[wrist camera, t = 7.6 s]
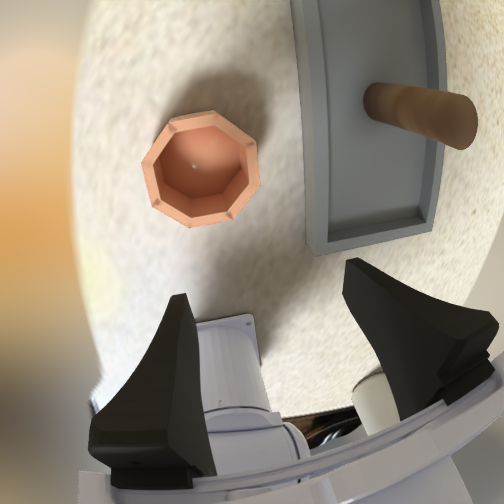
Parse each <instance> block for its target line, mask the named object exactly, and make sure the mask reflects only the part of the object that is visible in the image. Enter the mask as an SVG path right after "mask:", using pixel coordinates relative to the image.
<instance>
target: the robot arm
mask: <svg viewBox="0 0 504 504" xmlns="http://www.w3.org/2000/svg"><path fill="white" fill-rule="evenodd" d="M342 295H343V297H344V299H345V301H346V304H347V306H348V308H349V310H350V312H351V314H352V315H353V317H354V318H355V320H356V322H357V323H358V325H359V326H360V328H361V330H362V331H363V333H364V334H365V336H366V338H367V339H368V341H369V342H370V344H371V346H372V347H373V349H374V351H375V353H376V355H377V357H378V359H379V361H380V364H381V366H382V368H383V370H384V373H385V375H386V378H387V380H388V383H389V386H390V389H391V391H392V394H393V397H394V400H395V404H396V407H397V411H398V414H399V418H400V422H399V423H396V424H394V425H392V426H390V427H388V428H386V429H383V430H381V431H379V432H377V433H374V434H372V435H369V436H367V437H365V438H362V439H360V440H357V441H354V442H352V443H349V444H346V445H344V446H341V447H338V448H335V449H332V450H329V451H326V452H323V453H320V454H317V455H313V456H310V451H309V447H308V444H307V442H306V440H305V438H304V436H303V434H302V433H301V432H300V431H299V430H298V429H297V428H296V427H295V426H294V425H293V424H291V423H289V422H284V423H283V422H282V419H281V415H280V413H279V412H272V411H271V407H270V404H269V400H268V397H267V393H266V389H265V386H264V382H263V378H262V375H261V367H260V360H259V353H258V346H257V339H256V332H255V325H254V318H253V315H252V314H243V315H238V316H233V317H228V318H223V319H218V320H213V321H207V322H202V323H195V320H194V317H193V314H192V311H191V308H190V305H189V301H188V298H187V295H186V293H183V294H178V295H172V296H171V298H170V300H169V303H168V306H167V308H166V311H165V313H164V316H163V318H162V321H161V323H160V325H159V327H158V329H157V332H156V334H155V336H154V338H153V340H152V342H151V344H150V346H149V348H148V349H147V351H146V353H145V355H144V356H143V358H142V360H141V361H140V363H139V365H138V366H137V368H136V369H135V371H134V372H133V373H132V375H131V376H130V378H129V379H128V380H127V382H126V383H125V384H124V386H123V387H122V388H121V389H120V390H119V391H118V393H117V394H116V395H115V396H114V397H113V398H112V400H111V401H110V402H109V403H108V404H107V405H106V406H105V407H104V408H103V409H102V410H100V411H99V412H98V413H97V414H96V415H95V416H94V417H93V418H92V420H91V425H90V430H89V442H88V451H89V453H90V454H91V456H93V457H94V458H95V459H97V460H98V461H100V462H102V463H104V464H105V465H107V466H108V467H110V468H111V475H109V474H106V473H99V472H88V471H79V475H78V476H79V477H78V478H79V479H78V504H473V502H472V500H471V498H470V495H469V493H468V491H467V489H466V487H465V485H464V483H463V481H462V479H461V477H460V475H459V472H458V471H457V468H456V466H455V464H454V463H453V461H452V459H451V457H450V455H451V454H453V453H454V452H455V451H457V450H458V449H460V448H461V447H463V446H464V445H465V444H466V443H468V442H469V441H471V440H472V439H473V438H475V437H476V436H477V435H478V434H480V433H481V432H482V431H483V430H485V429H486V428H487V427H488V426H489V425H491V424H492V423H493V422H494V421H495V420H496V419H498V418H499V417H500V416H501V415H502V414H503V413H504V352H502V353H501V354H500V355H499V356H497V357H496V358H495V359H494V360H493V361H492V362H491V363H490V361H489V360H488V358H489V356H490V354H489V353H488V352H487V348H488V347H489V345H490V344H491V342H492V341H493V339H494V337H495V336H496V334H497V331H498V329H499V323H498V322H497V321H496V319H495V318H494V317H493V316H492V315H491V314H490V312H488V311H482V310H476V309H470V308H466V307H462V306H458V305H454V304H451V303H448V302H445V301H442V300H439V299H436V298H433V297H431V296H429V295H426V294H424V293H422V292H419V291H417V290H415V289H413V288H411V287H409V286H407V285H405V284H403V283H402V282H400V281H398V280H396V279H394V278H393V277H391V276H389V275H387V274H386V273H384V272H382V271H381V270H379V269H377V268H376V267H374V266H372V265H371V264H369V263H367V262H365V261H364V260H362V259H360V258H358V257H357V258H353V259H348V260H346V265H345V274H344V283H343V291H342ZM247 322H249V323H247ZM386 447H387V448H386ZM363 457H364V458H363ZM358 459H359V460H358ZM353 461H354V462H353ZM348 463H349V464H348ZM345 464H347V465H345ZM343 465H344V466H343ZM340 466H342V467H340ZM337 467H339V468H337ZM334 468H337V469H336V470H333V471H331V472H329V473H327V474H324V475H322V476H319V477H316V478H313V479H310V480H309V478H310V476H312V475H315V474H318V473H322V472H325V471H328V470H331V469H334Z"/></svg>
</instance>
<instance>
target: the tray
mask: <svg viewBox="0 0 504 504" xmlns="http://www.w3.org/2000/svg"><path fill="white" fill-rule="evenodd" d="M290 5H291V12H292V20H293V29H294V38H295V47H296V57H297V67H298V78H299V90H300V104H301V119H302V136H303V156H304V182H305V236H306V245H307V246H308V248H309V249H310V251H311V252H312V254H313V255H314V257H316V256H321V255H326V254H331V253H335V252H340V251H345V250H349V249H354V248H359V247H363V246H368V245H372V244H377V243H381V242H386V241H390V240H395V239H399V238H404V237H408V236H413V235H417V234H422V233H426V232H430V231H432V227H433V223H434V218H435V213H436V207H437V201H438V196H439V189H440V183H441V175H442V167H443V159H444V149H445V144H443V143H441V142H438V141H436V140H433V139H430V138H427V137H425V136H422V135H419V134H416V133H413V132H410V131H407V130H404V129H401V128H398V127H395V126H392V125H388V124H385V123H382V122H378V121H375V120H373V119H371V118H370V117H369V116H368V115H367V113H366V111H365V109H364V106H363V96H364V93H365V91H366V89H367V88H368V87H369V86H370V85H371V84H373V83H389V84H399V85H407V86H415V87H422V88H428V89H434V90H440V91H446V92H447V68H446V52H445V40H444V31H443V23H442V16H441V9H440V3H439V0H290Z"/></svg>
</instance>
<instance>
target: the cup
mask: <svg viewBox="0 0 504 504" xmlns="http://www.w3.org/2000/svg"><path fill="white" fill-rule="evenodd" d="M141 165H142V169H143V173H144V178H145V182H146V186H147V190H148V194H149V198H150V202H151V205H152V207H154V208H156V209H157V210H159V211H161V212H162V213H164V214H166V215H167V216H169V217H171V218H173V219H174V220H176V221H178V222H179V223H181V224H183V225H185V226H186V227H188V228H193V227H198V226H203V225H208V224H214V223H219V222H224V221H230V220H233V219H234V218H235V216H236V215H237V214H238V213H239V212H240V210H241V209H242V208H243V207H244V205H245V204H246V203H247V202H248V200H249V199H250V198H251V197H252V195H253V194H254V193H255V192H256V191H257V189H258V188H259V187H260V186H261V185H260V176H259V166H258V156H257V146H256V141H255V140H254V139H253V138H251V137H250V136H249V135H248V134H246V133H245V132H244V131H242V130H241V129H239V128H238V127H237V126H235V125H234V124H233V123H231V122H230V121H229V120H227V119H226V118H224V117H223V116H221V115H220V114H219V113H217V112H216V111H215V110H211V111H205V112H197V113H191V114H187V115H183V116H178V117H173V118H171V119H170V121H169V122H168V124H167V125H166V126H165V128H164V129H163V131H162V132H161V134H160V135H159V136H158V138H157V139H156V141H155V142H154V144H153V145H152V147H151V148H150V150H149V151H148V153H147V154H146V156H145V157H144V159H143V161H142V162H141Z"/></svg>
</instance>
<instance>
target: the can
mask: <svg viewBox="0 0 504 504" xmlns="http://www.w3.org/2000/svg"><path fill="white" fill-rule="evenodd" d="M351 400H352V402H353V404H354V406H355V408H356V411H357V413H358V415H359V417H360V419H361V421H362V424H363V426H364V428H365V430H366V432H367V434H368V436H369V435H372V434H374V433H377V432H379V431H381V430H383V429H386V428H388V427H390V426H392V425H394V424H396V423H399V422H400V418H399V414H398V411H397V407H396V404H395V400H394V397H393V394H392V391H391V389H390V386H389V383H388V380H387V378H386V375H385V374H384V373H379V374H375V375H373V376H371V377H369V378H367V379H365V380H364V381H362V382H361V383H360V384H358V385H357V387H356V388H355V389H354V392H353V394H352V396H351ZM386 448H387V447H386Z"/></svg>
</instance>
